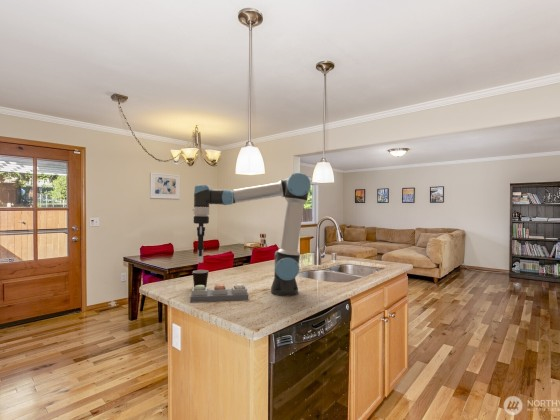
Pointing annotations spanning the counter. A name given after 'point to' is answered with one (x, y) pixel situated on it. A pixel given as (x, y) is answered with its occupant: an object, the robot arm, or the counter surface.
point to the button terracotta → (219, 287)
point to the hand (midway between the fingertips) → (200, 262)
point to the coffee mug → (200, 277)
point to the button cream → (239, 286)
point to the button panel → (219, 294)
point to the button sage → (199, 287)
